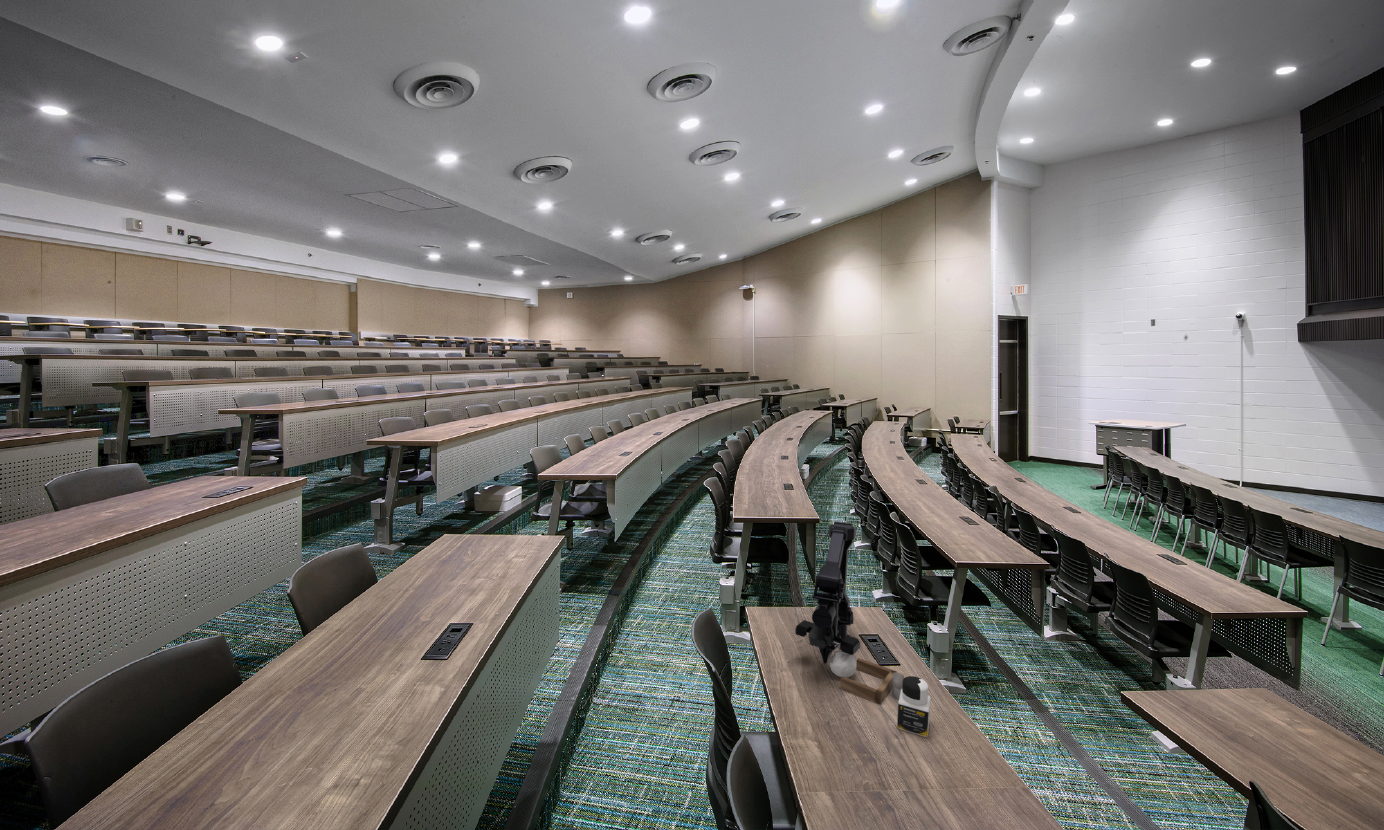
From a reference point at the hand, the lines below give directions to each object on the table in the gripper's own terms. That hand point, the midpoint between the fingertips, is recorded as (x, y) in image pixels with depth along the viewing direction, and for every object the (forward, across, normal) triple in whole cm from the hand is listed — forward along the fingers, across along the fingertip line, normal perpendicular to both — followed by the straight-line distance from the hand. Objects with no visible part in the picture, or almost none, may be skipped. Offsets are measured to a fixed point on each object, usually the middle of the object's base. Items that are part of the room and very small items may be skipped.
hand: (825, 663), depth 160 cm
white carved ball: (+2, +6, 0) cm, 6 cm away
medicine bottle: (+2, +29, -9) cm, 30 cm away
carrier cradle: (+1, +15, 0) cm, 15 cm away
